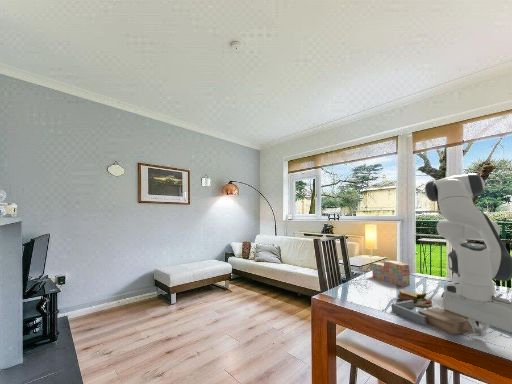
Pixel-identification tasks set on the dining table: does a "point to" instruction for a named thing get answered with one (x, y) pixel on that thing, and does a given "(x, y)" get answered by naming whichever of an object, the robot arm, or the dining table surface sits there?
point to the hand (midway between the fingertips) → (479, 334)
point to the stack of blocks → (392, 272)
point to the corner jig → (408, 311)
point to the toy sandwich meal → (414, 298)
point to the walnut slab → (446, 320)
